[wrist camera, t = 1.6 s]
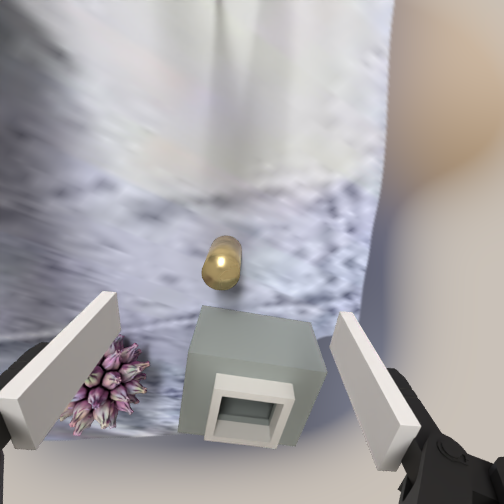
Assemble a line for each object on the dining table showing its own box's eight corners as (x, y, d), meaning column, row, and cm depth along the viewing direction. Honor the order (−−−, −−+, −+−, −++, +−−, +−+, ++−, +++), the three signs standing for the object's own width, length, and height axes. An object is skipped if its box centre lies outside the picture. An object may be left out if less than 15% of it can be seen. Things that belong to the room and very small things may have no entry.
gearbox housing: (191, 375, 41) (173, 449, 31) (202, 305, 36) (183, 366, 26) (286, 388, 42) (298, 463, 32) (310, 322, 37) (332, 388, 27)
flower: (174, 336, 38) (143, 414, 27) (143, 384, 42) (104, 469, 31) (100, 302, 35) (32, 372, 24) (74, 356, 39) (5, 438, 28)
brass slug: (208, 261, 33) (199, 287, 27) (212, 232, 31) (204, 253, 25) (238, 266, 33) (236, 293, 27) (244, 238, 32) (242, 260, 26)
